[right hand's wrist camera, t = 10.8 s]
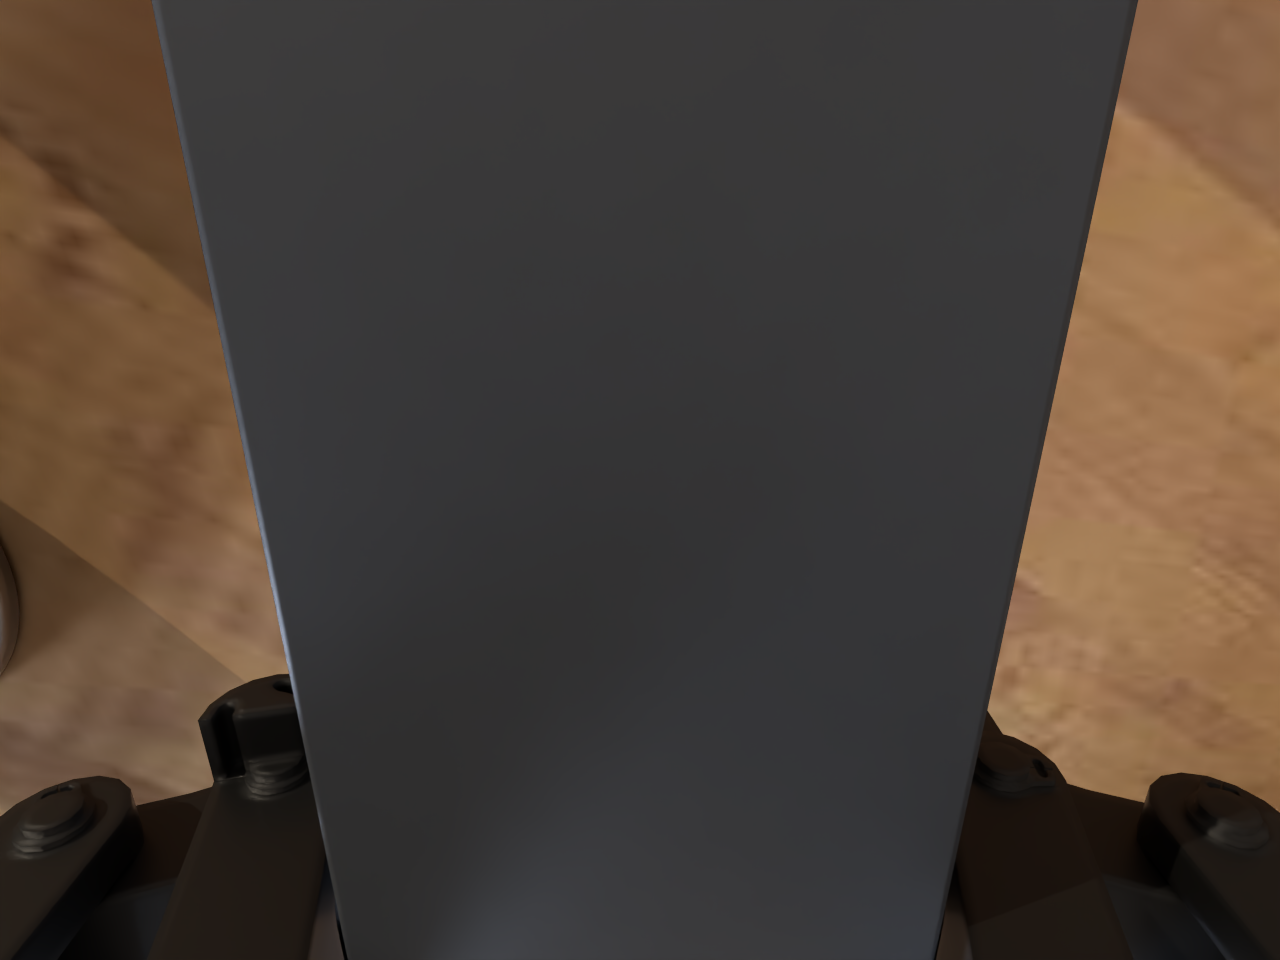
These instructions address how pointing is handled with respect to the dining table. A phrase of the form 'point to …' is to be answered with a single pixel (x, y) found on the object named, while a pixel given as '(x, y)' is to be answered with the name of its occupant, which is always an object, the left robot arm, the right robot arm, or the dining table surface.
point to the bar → (643, 439)
